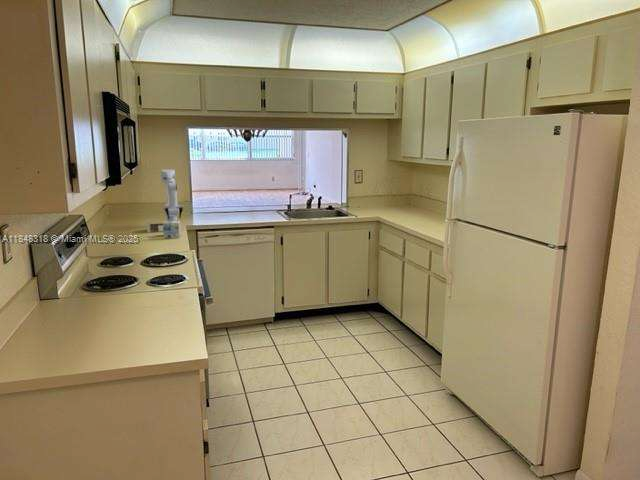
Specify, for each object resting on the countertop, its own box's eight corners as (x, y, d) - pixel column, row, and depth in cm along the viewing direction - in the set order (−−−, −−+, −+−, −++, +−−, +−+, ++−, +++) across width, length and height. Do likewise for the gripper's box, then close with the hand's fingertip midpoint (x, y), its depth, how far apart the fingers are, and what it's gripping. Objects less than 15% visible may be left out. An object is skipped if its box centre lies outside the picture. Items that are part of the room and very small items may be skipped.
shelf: (147, 231, 344) (147, 224, 343) (173, 230, 350) (172, 222, 349) (147, 234, 333) (146, 227, 332) (173, 233, 339) (173, 225, 337)
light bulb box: (163, 238, 322) (162, 223, 320) (164, 236, 328) (163, 221, 326) (180, 238, 324) (179, 222, 322) (180, 236, 331) (179, 220, 328)
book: (158, 229, 344) (158, 225, 343) (165, 229, 345) (165, 225, 344) (158, 231, 336) (158, 227, 335) (165, 231, 338) (165, 227, 337)
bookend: (147, 230, 342) (146, 219, 340) (150, 229, 343) (149, 218, 341) (147, 232, 333) (146, 221, 331) (150, 232, 334) (149, 221, 332)
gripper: (162, 200, 333) (163, 219, 335) (183, 199, 338) (185, 218, 340) (162, 199, 340) (163, 218, 342) (183, 199, 344) (184, 217, 346)
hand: (174, 218), depth 341 cm, fingers open, 7 cm apart
